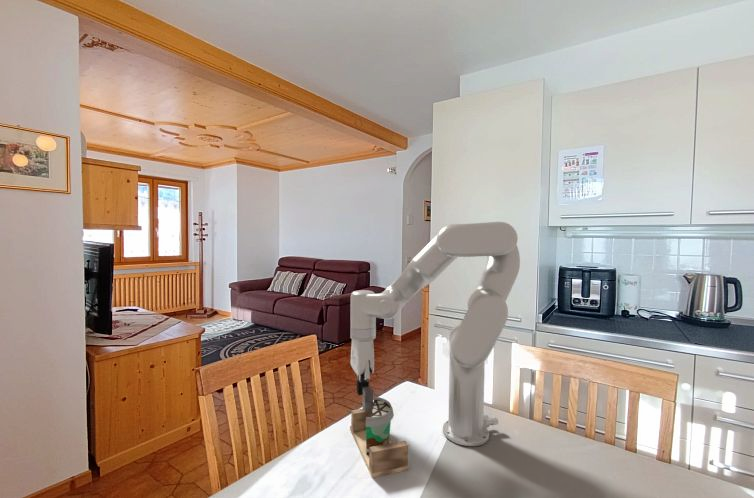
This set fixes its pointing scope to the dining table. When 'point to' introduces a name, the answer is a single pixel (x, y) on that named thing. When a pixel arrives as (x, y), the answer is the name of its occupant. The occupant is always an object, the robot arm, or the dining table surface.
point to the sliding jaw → (362, 410)
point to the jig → (382, 455)
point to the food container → (378, 423)
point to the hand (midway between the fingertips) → (362, 393)
